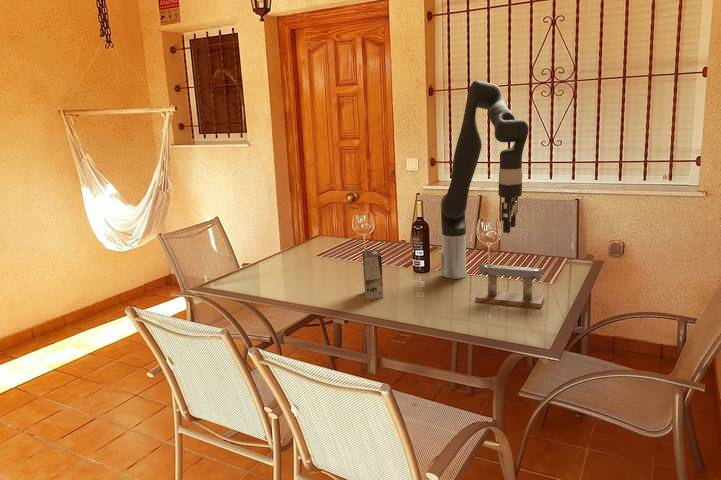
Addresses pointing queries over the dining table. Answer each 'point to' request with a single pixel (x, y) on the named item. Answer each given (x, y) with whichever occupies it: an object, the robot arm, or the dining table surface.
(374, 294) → the coffee box
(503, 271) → the grey knobbed bar
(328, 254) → the dining table surface
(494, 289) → the peg stand
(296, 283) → the dining table surface
